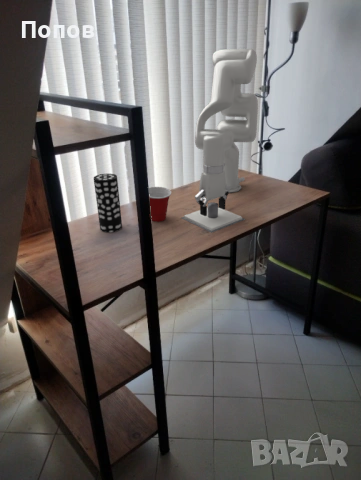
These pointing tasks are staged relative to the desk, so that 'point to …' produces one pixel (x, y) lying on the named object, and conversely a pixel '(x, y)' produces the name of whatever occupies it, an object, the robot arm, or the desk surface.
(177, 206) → the desk surface
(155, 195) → the plastic cup
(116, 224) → the white-spotted black cylinder
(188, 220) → the mat
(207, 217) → the lid
